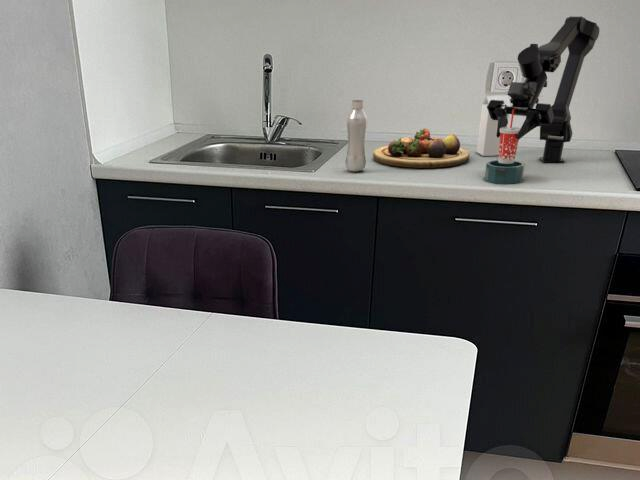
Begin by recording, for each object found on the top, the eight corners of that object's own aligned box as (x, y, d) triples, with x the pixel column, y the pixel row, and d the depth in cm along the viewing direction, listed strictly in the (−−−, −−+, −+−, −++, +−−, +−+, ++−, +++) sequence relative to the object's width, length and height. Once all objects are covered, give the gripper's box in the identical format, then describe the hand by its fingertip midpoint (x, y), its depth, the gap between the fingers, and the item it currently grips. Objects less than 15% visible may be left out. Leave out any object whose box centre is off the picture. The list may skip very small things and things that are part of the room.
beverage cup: (521, 162, 214) (529, 109, 206) (507, 165, 211) (514, 111, 203) (505, 158, 218) (512, 107, 210) (490, 161, 216) (497, 109, 208)
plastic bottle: (367, 169, 233) (370, 99, 222) (362, 173, 228) (365, 102, 217) (348, 168, 235) (350, 99, 224) (342, 172, 230) (344, 102, 219)
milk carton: (476, 152, 252) (483, 90, 241) (496, 151, 253) (504, 90, 242) (482, 156, 246) (490, 93, 236) (503, 155, 247) (512, 92, 236)
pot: (525, 176, 221) (528, 160, 218) (516, 186, 210) (519, 169, 208) (490, 173, 225) (492, 157, 222) (480, 183, 214) (482, 167, 212)
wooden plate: (390, 147, 262) (392, 122, 258) (479, 153, 251) (482, 127, 246) (359, 165, 239) (360, 137, 234) (455, 172, 227) (458, 143, 222)
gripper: (494, 68, 209) (470, 116, 209) (557, 71, 199) (532, 121, 198) (503, 95, 218) (480, 141, 218) (563, 99, 208) (539, 148, 208)
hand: (507, 137), depth 210 cm, fingers closed on beverage cup, 6 cm apart
